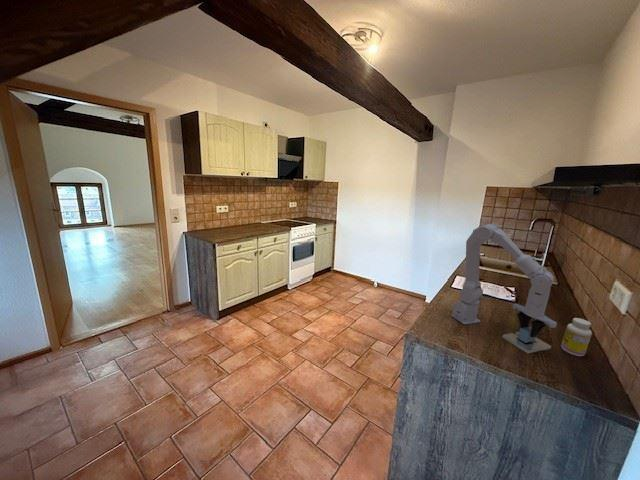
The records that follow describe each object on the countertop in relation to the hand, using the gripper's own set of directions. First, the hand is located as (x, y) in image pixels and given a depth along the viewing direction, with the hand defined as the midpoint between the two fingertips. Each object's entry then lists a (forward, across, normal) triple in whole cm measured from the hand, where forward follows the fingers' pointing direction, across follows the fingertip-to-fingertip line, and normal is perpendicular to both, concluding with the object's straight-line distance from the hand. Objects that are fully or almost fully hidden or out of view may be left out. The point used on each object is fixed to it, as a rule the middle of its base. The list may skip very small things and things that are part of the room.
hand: (528, 333), depth 100 cm
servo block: (+2, 0, 0) cm, 3 cm away
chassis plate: (+4, 0, 0) cm, 4 cm away
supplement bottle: (+4, -8, -13) cm, 16 cm away
